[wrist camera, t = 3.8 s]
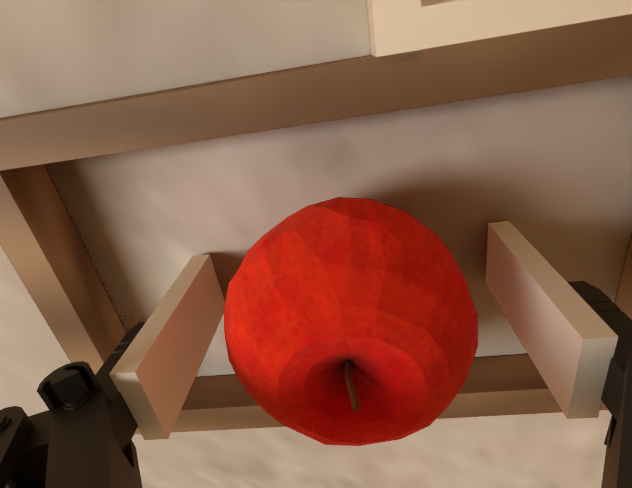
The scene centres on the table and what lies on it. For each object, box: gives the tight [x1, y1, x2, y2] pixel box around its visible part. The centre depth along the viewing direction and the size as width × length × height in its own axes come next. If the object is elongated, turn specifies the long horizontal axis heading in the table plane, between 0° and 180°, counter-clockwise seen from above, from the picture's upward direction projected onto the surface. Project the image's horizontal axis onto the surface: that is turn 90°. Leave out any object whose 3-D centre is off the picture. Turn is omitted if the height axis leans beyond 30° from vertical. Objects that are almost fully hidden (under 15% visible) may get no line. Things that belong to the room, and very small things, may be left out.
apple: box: [224, 197, 478, 446], centre depth 13 cm, size 8×8×7 cm
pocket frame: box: [0, 14, 632, 434], centre depth 15 cm, size 15×25×2 cm, turn 99°
